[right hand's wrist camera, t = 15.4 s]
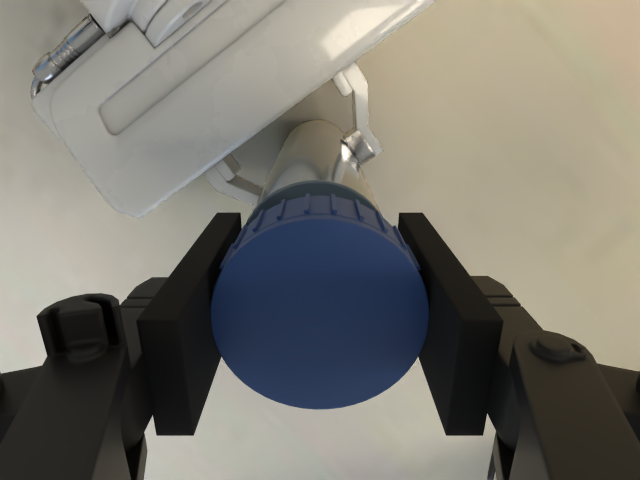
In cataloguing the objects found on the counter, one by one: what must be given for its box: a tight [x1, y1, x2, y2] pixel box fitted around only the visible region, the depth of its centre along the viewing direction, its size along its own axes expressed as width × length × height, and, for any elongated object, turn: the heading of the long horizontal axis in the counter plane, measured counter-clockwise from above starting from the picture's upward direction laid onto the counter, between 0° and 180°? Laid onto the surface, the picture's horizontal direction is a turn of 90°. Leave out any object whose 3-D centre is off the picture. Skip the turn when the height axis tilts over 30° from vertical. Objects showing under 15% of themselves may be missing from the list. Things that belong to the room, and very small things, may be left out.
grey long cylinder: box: [246, 120, 383, 226], centre depth 21 cm, size 5×5×19 cm
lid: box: [210, 193, 429, 409], centre depth 11 cm, size 5×5×2 cm
